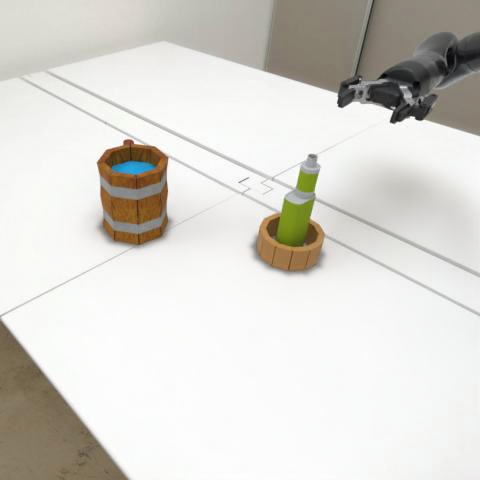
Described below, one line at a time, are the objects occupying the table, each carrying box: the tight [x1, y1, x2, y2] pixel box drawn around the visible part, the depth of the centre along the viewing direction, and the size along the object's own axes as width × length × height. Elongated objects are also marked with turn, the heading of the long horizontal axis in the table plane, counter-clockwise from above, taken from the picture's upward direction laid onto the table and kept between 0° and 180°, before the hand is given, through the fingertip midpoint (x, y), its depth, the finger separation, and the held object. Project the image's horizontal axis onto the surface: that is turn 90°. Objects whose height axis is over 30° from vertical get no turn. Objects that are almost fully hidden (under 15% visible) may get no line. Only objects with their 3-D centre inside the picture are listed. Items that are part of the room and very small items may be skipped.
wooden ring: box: [256, 212, 326, 272], centre depth 86 cm, size 12×12×5 cm
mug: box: [96, 138, 169, 246], centre depth 92 cm, size 20×14×15 cm
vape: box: [275, 153, 321, 247], centre depth 82 cm, size 4×6×20 cm, turn 128°
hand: (366, 109), depth 71 cm, fingers open, 8 cm apart
